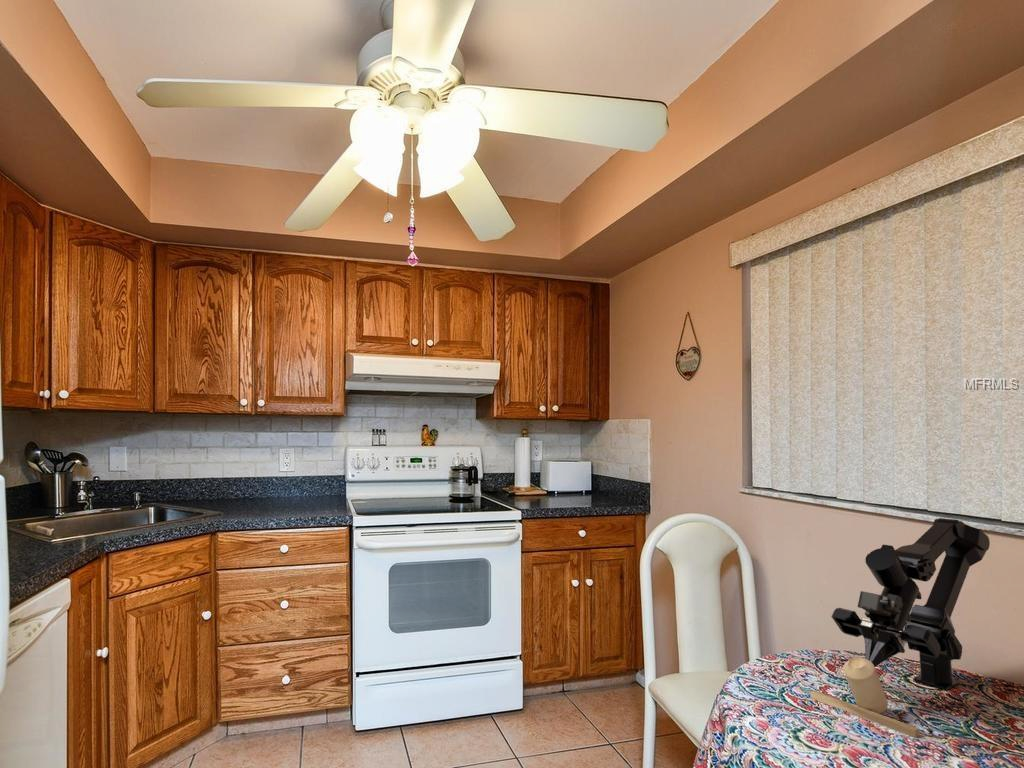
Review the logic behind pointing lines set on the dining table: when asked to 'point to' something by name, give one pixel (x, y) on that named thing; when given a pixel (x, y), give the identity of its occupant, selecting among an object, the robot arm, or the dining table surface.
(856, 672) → the candle
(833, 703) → the oak strip
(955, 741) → the dining table surface
